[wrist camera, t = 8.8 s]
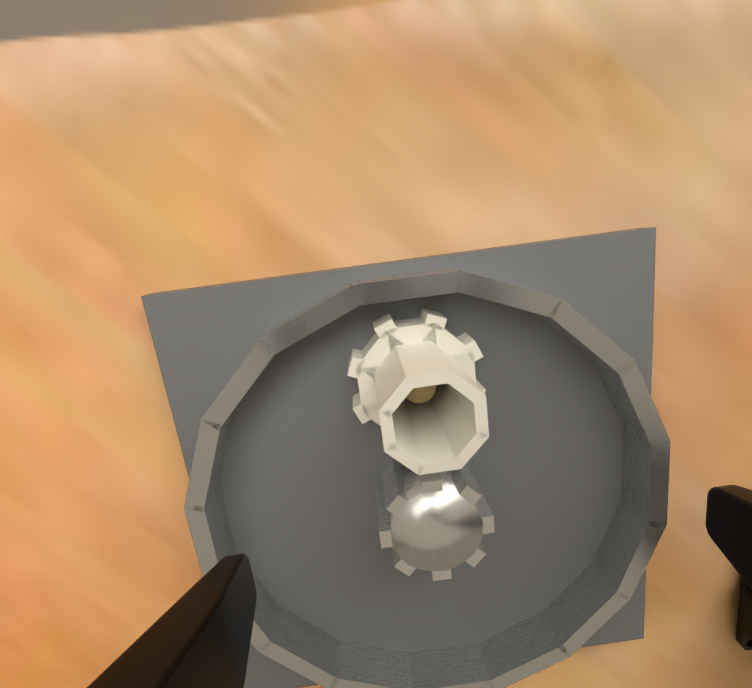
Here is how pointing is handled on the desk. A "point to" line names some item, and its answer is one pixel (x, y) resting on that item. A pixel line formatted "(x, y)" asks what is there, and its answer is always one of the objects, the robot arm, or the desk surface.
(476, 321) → the tray
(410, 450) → the gear
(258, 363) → the grey flat ring
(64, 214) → the desk surface
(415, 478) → the sun gear
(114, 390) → the desk surface
